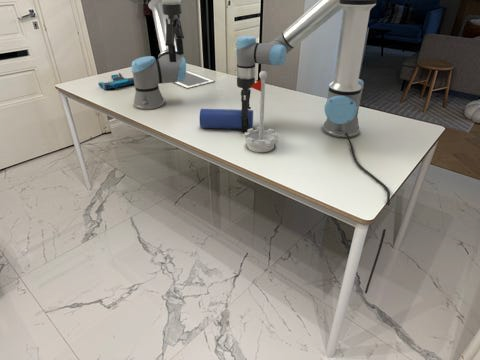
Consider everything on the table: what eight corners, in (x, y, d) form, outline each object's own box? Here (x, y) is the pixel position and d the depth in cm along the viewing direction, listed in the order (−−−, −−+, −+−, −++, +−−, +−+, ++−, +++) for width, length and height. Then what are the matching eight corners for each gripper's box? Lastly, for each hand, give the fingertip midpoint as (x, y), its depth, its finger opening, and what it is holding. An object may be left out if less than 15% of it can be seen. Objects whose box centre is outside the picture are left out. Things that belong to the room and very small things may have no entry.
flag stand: (268, 136, 145) (271, 64, 128) (282, 150, 134) (288, 73, 118) (239, 141, 141) (239, 68, 124) (252, 155, 130) (253, 77, 114)
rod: (253, 124, 156) (253, 107, 151) (252, 132, 148) (252, 114, 144) (203, 123, 157) (202, 105, 153) (200, 130, 150) (198, 112, 145)
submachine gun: (142, 67, 226) (160, 73, 209) (143, 73, 228) (161, 80, 211) (90, 77, 207) (106, 85, 191) (92, 83, 209) (108, 91, 193)
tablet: (159, 76, 219) (159, 75, 219) (186, 70, 230) (186, 70, 230) (187, 88, 199) (187, 87, 198) (214, 81, 210) (214, 80, 210)
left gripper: (170, 0, 147) (175, 51, 159) (153, 6, 126) (160, 65, 138) (187, 0, 146) (191, 51, 158) (173, 7, 126) (178, 65, 137)
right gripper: (239, 69, 149) (239, 117, 161) (234, 84, 131) (234, 137, 143) (256, 69, 148) (254, 118, 161) (253, 85, 130) (252, 138, 143)
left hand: (177, 57), depth 148 cm, fingers open, 13 cm apart
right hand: (245, 127), depth 152 cm, fingers closed on rod, 8 cm apart
